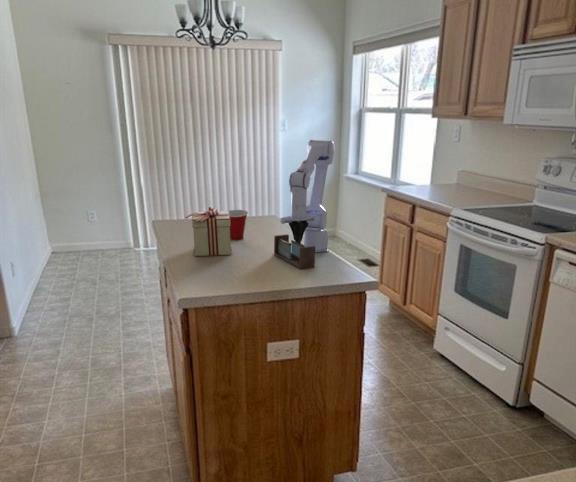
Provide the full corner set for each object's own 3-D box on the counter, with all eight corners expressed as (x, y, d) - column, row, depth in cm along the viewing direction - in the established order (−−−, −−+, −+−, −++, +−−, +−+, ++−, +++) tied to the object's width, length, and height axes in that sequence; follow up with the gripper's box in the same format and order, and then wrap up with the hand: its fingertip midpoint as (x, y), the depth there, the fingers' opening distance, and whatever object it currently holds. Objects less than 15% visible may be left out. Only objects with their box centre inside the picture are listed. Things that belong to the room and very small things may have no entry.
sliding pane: (292, 255, 211) (293, 233, 208) (304, 260, 204) (305, 238, 200) (290, 255, 211) (291, 233, 208) (302, 261, 203) (302, 238, 200)
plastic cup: (219, 239, 237) (219, 212, 232) (231, 234, 246) (230, 208, 242) (241, 242, 233) (241, 215, 229) (252, 237, 242) (252, 210, 238)
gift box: (185, 247, 223) (183, 206, 217) (229, 246, 227) (228, 205, 221) (187, 258, 208) (185, 214, 201) (234, 256, 212) (233, 213, 205)
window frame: (287, 253, 218) (287, 234, 215) (314, 267, 200) (315, 246, 197) (274, 255, 215) (274, 235, 212) (300, 269, 197) (301, 248, 194)
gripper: (286, 208, 193) (286, 244, 198) (320, 205, 200) (319, 241, 205) (277, 204, 199) (277, 240, 204) (311, 202, 205) (310, 237, 210)
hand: (297, 240), depth 205 cm, fingers closed, pressing on sliding pane
